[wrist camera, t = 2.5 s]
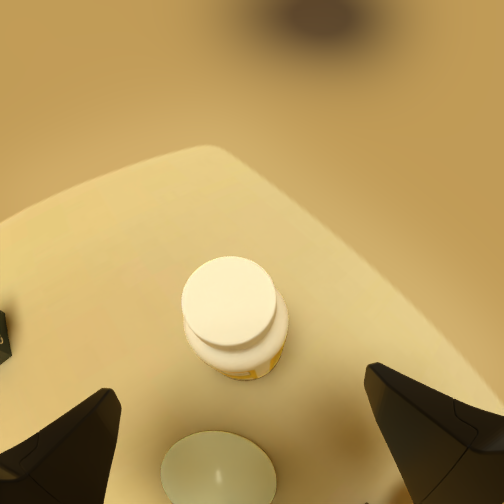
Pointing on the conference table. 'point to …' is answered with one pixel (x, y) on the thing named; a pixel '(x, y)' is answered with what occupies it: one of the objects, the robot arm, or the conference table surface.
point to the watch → (4, 340)
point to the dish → (217, 470)
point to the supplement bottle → (235, 317)
